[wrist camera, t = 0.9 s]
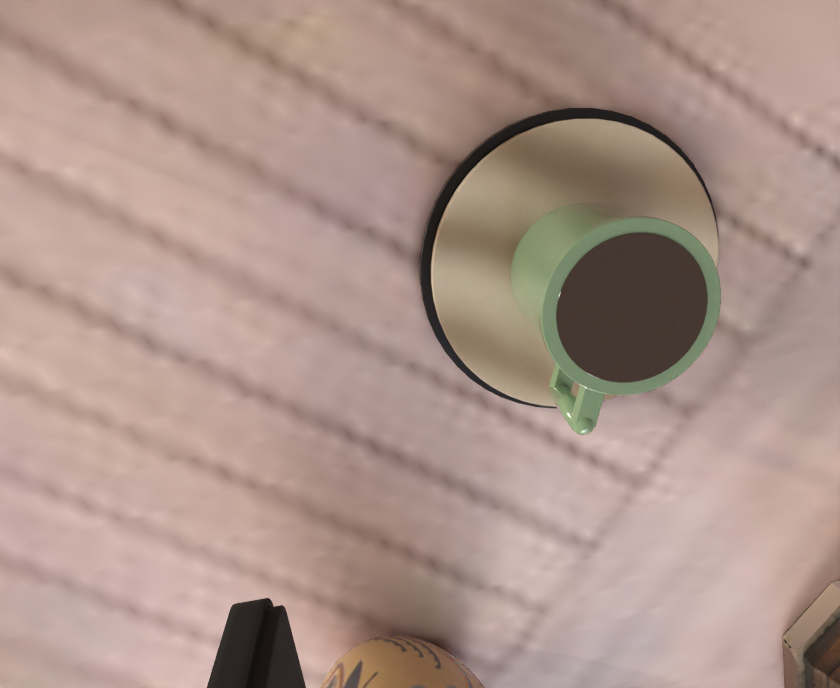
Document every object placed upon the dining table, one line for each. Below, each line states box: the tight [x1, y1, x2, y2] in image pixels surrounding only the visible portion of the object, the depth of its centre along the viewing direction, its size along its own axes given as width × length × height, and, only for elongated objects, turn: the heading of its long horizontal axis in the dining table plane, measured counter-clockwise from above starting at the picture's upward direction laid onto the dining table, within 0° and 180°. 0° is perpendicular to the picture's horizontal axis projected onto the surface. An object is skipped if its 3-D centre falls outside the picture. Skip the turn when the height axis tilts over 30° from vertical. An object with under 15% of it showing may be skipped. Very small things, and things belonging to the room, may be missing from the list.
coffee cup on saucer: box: [431, 119, 721, 435], centre depth 33 cm, size 15×15×8 cm
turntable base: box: [420, 108, 718, 408], centre depth 38 cm, size 16×16×1 cm
